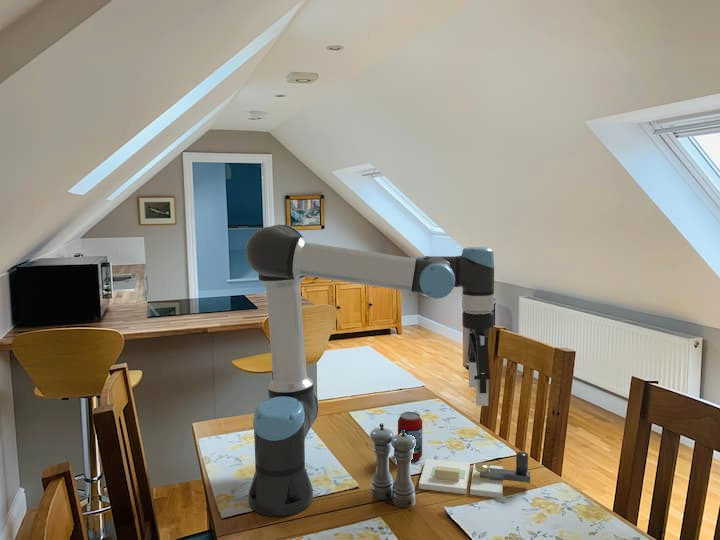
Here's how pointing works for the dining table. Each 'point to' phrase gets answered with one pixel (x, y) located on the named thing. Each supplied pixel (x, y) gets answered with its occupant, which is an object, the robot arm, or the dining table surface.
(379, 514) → the dining table surface
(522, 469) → the latch bar
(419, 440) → the beverage can
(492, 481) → the block
